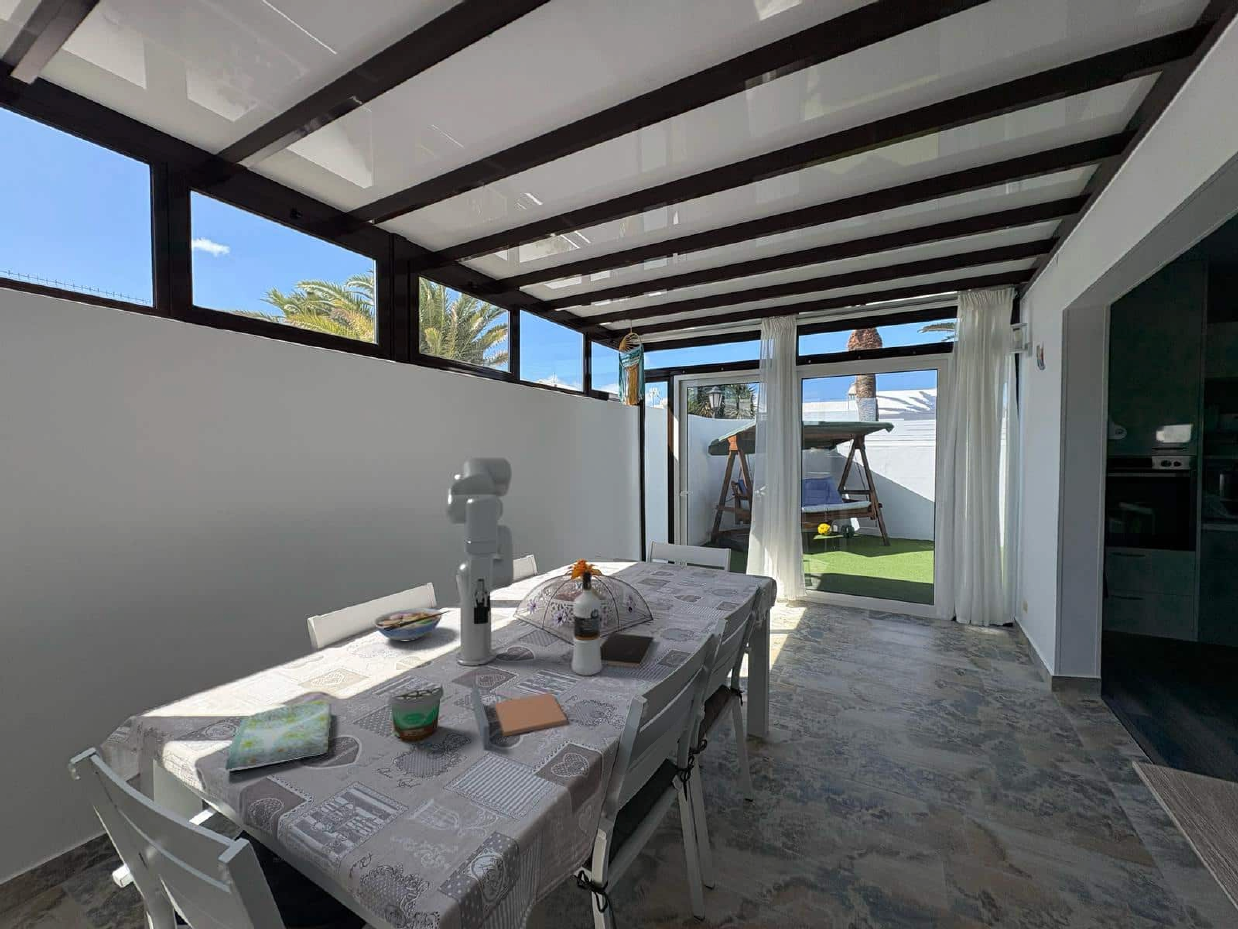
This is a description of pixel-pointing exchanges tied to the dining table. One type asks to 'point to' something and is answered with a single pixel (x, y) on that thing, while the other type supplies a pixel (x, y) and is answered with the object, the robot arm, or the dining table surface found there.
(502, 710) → the mat
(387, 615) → the ramen bowl
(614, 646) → the hardcover book
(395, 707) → the food container
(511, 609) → the dining table surface
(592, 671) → the vodka
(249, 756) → the towel
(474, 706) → the acrylic wall
